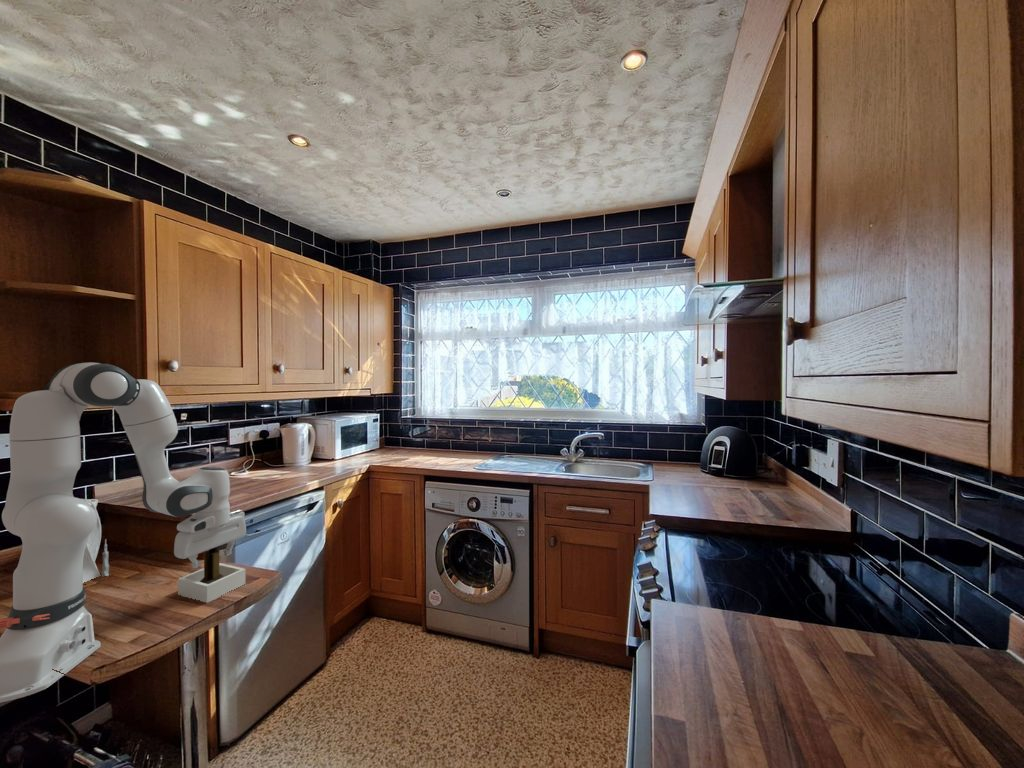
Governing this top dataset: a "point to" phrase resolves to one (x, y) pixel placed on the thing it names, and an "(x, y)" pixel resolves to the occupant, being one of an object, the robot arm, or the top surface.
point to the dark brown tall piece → (211, 566)
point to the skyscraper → (94, 550)
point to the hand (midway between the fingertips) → (212, 561)
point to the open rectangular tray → (209, 592)
